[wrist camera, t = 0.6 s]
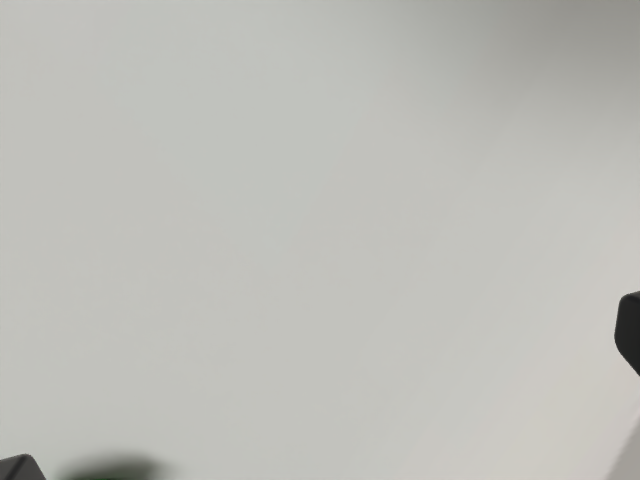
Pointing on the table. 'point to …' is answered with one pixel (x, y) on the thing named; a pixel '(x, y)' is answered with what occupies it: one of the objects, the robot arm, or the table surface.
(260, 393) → the table surface
